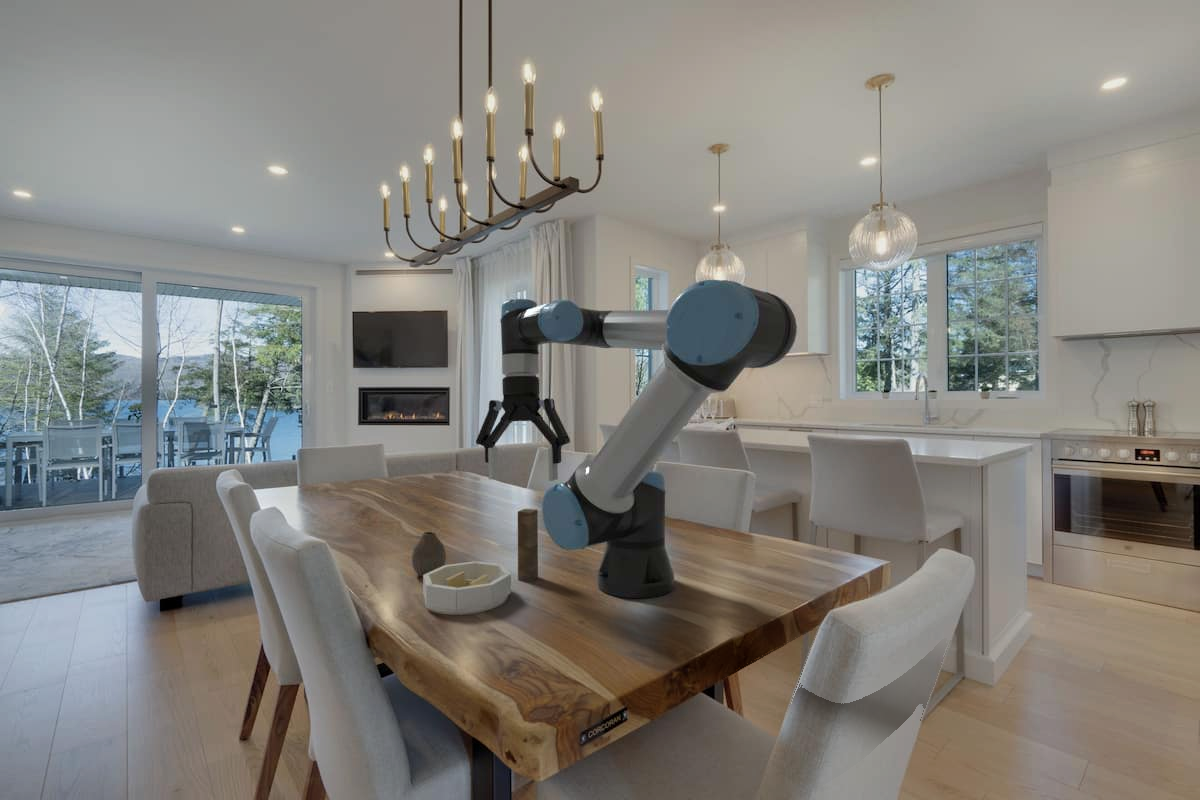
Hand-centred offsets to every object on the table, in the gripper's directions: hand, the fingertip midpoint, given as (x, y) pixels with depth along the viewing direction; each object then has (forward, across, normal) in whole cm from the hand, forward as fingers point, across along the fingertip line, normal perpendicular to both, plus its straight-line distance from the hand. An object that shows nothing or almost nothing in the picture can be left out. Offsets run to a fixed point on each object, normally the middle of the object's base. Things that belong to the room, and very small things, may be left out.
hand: (522, 479), depth 110 cm
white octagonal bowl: (+20, +6, +13) cm, 25 cm away
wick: (+20, 0, -1) cm, 21 cm away
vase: (+20, +21, +3) cm, 29 cm away
